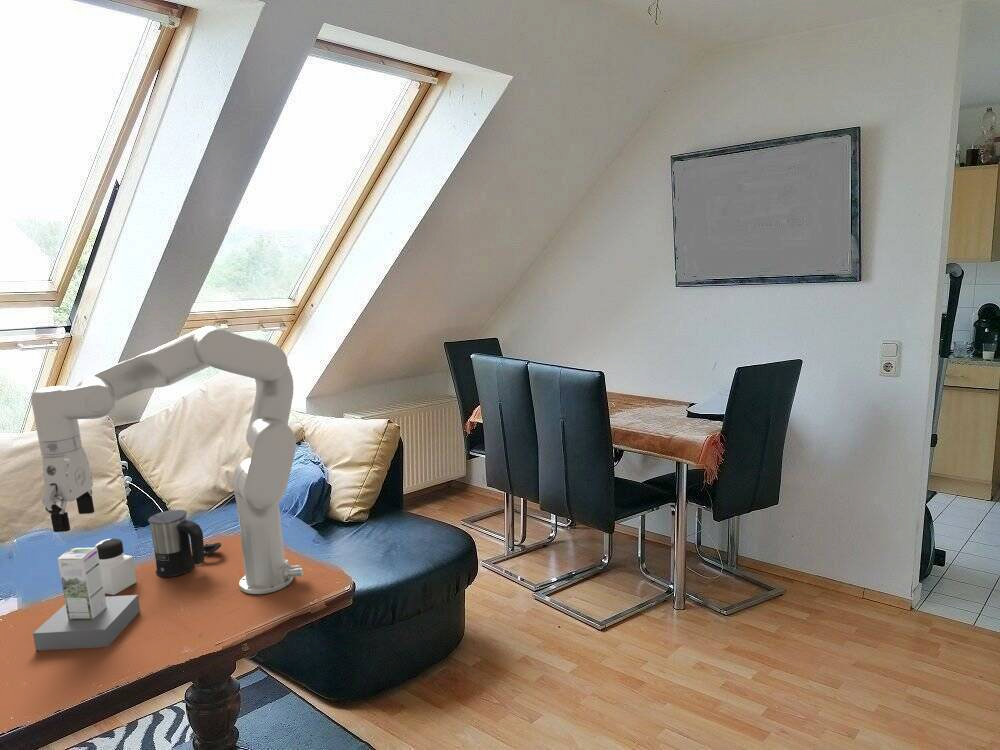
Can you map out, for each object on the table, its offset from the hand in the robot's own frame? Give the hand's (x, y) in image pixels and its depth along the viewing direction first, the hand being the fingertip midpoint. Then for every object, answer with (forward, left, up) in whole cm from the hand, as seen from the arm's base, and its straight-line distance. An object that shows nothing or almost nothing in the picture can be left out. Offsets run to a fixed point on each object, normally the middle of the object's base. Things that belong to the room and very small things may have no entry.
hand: (74, 521), depth 158 cm
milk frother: (-9, -32, -25) cm, 42 cm away
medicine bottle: (+5, -20, -25) cm, 33 cm away
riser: (0, 0, -25) cm, 25 cm away
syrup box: (0, 0, -21) cm, 21 cm away
